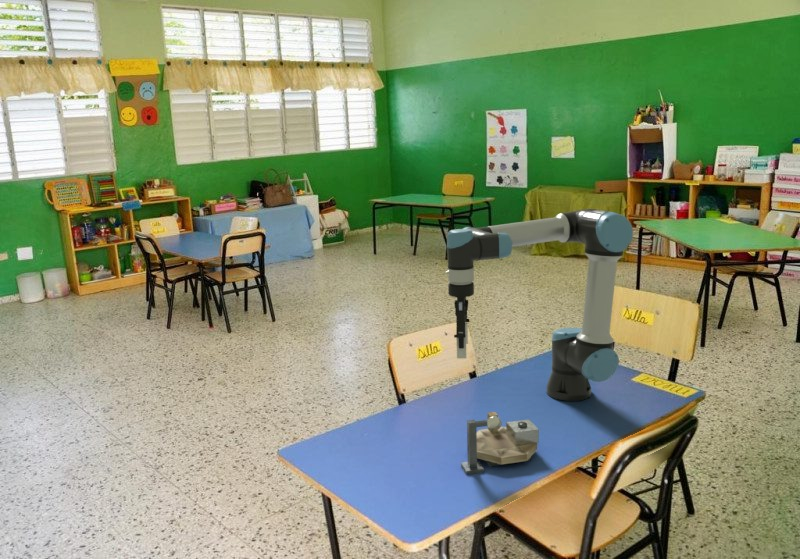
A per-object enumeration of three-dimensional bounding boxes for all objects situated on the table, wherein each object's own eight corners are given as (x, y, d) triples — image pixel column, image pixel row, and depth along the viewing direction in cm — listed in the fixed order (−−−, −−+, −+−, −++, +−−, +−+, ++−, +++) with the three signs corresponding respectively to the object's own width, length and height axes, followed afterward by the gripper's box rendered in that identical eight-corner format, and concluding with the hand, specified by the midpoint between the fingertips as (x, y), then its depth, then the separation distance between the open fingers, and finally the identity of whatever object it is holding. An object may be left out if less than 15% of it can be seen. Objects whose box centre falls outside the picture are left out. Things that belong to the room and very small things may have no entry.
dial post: (496, 460, 187) (496, 410, 184) (503, 469, 183) (503, 418, 179) (460, 465, 185) (459, 415, 182) (466, 474, 180) (465, 422, 177)
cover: (528, 432, 196) (529, 417, 195) (538, 442, 189) (538, 427, 188) (506, 434, 194) (506, 420, 193) (515, 445, 188) (515, 430, 187)
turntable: (519, 430, 201) (519, 408, 200) (545, 458, 184) (545, 434, 183) (462, 438, 198) (462, 416, 196) (482, 467, 180) (482, 443, 179)
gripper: (450, 273, 210) (452, 337, 214) (445, 292, 186) (447, 364, 190) (474, 272, 209) (475, 337, 213) (472, 291, 185) (474, 364, 189)
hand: (462, 350), depth 202 cm, fingers open, 13 cm apart
